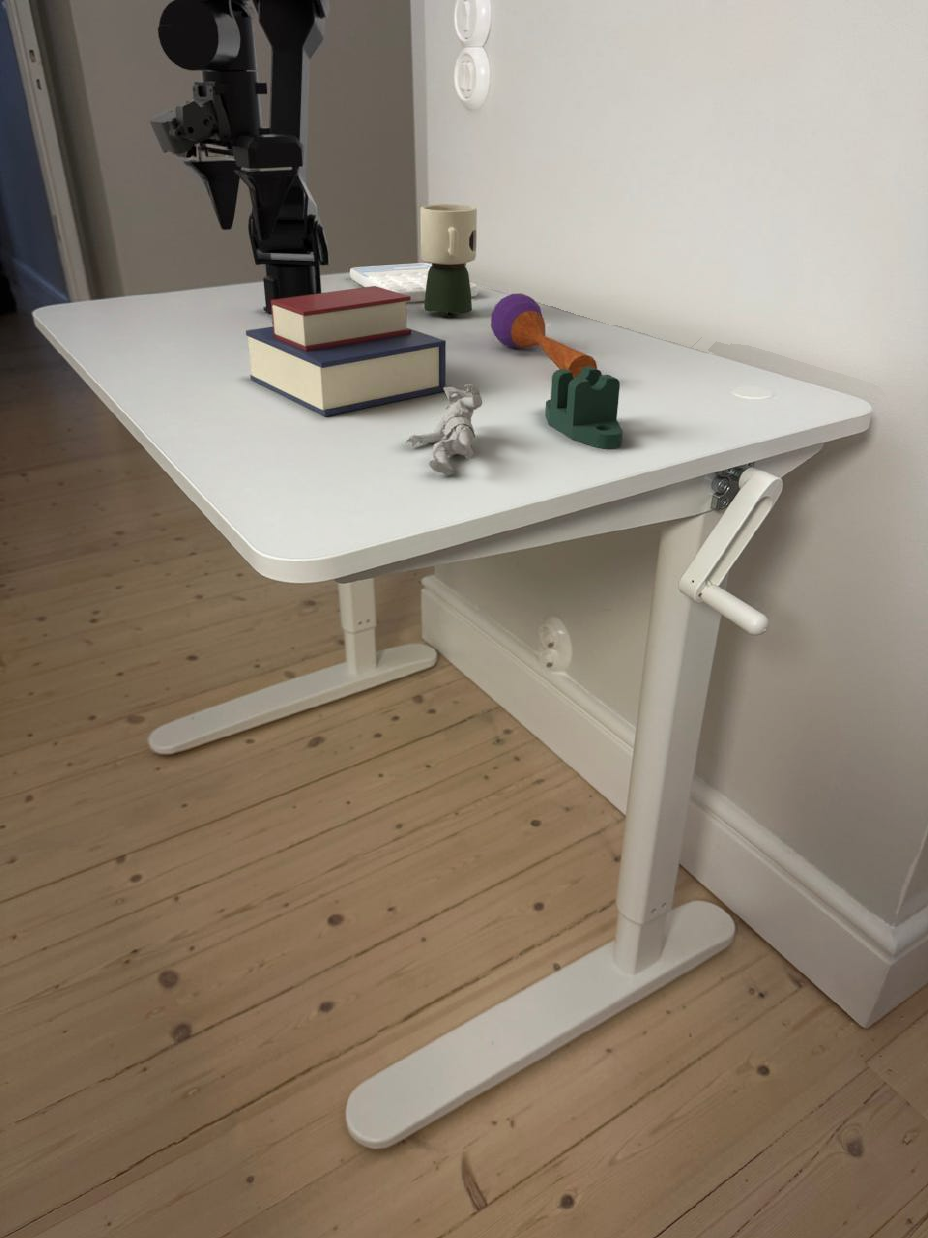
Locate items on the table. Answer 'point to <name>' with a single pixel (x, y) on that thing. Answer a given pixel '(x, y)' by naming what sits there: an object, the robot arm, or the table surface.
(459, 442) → the soldier figure
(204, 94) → the robot arm
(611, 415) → the mount
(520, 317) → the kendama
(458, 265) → the character mug
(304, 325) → the small book
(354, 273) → the calculator
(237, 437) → the table surface
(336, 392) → the big book
